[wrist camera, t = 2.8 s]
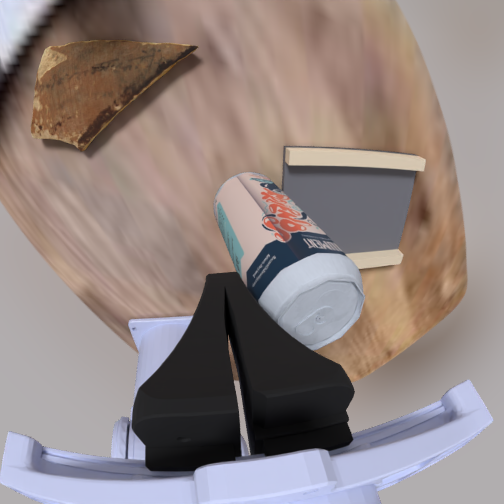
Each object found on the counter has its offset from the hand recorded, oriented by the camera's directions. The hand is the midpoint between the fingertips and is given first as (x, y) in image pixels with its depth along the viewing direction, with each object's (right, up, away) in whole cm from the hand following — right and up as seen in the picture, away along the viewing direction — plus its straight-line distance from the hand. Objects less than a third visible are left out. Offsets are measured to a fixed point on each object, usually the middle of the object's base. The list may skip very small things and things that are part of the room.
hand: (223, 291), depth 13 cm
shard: (-9, +14, +2) cm, 17 cm away
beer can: (+1, +5, +9) cm, 10 cm away
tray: (+9, +5, +10) cm, 15 cm away
